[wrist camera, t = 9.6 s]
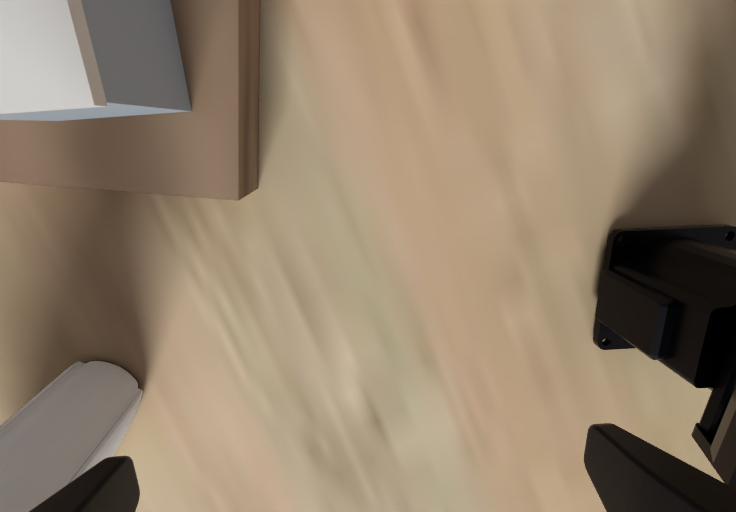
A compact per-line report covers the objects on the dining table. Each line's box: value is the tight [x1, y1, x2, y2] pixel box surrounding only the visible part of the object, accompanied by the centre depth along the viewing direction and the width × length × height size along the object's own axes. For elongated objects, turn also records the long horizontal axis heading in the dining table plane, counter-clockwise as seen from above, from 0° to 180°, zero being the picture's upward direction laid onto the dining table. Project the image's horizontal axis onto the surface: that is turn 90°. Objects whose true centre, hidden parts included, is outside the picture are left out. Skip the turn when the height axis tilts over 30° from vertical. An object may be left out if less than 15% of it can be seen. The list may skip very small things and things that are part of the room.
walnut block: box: [0, 0, 260, 200], centre depth 15 cm, size 9×9×4 cm
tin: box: [0, 0, 192, 121], centre depth 10 cm, size 5×5×6 cm
